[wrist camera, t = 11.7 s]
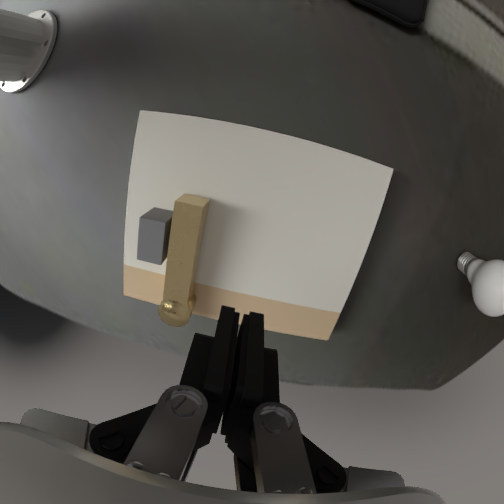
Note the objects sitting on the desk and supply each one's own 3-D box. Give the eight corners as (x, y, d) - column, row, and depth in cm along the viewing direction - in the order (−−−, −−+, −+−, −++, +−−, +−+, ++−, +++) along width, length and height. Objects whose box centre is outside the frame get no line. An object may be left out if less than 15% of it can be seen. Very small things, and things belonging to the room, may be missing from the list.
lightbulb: (437, 258, 30) (487, 305, 20) (470, 226, 28) (525, 263, 18) (452, 289, 31) (495, 337, 21) (482, 260, 29) (530, 300, 19)
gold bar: (194, 313, 30) (187, 330, 27) (166, 306, 30) (157, 322, 27) (214, 199, 25) (207, 207, 22) (180, 192, 25) (170, 199, 22)
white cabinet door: (133, 282, 33) (110, 311, 27) (152, 112, 25) (122, 107, 19) (323, 325, 34) (332, 361, 28) (381, 165, 26) (410, 174, 20)
